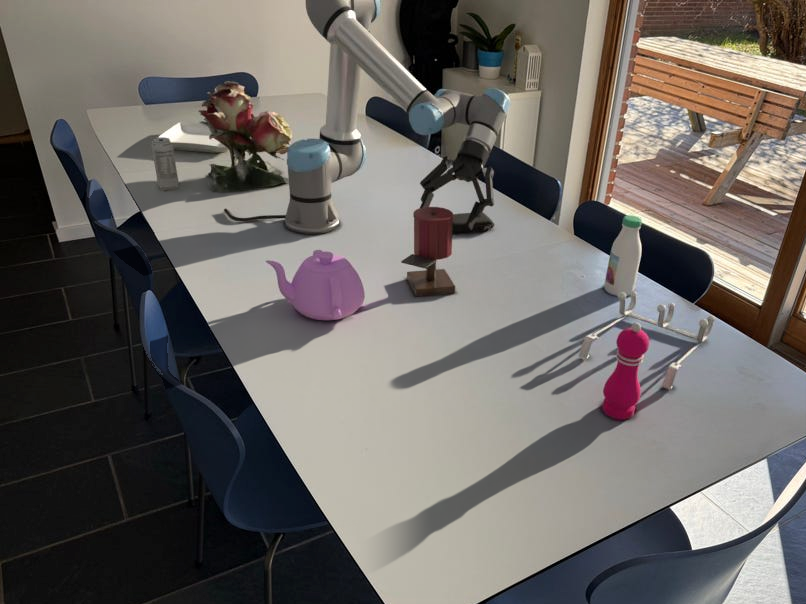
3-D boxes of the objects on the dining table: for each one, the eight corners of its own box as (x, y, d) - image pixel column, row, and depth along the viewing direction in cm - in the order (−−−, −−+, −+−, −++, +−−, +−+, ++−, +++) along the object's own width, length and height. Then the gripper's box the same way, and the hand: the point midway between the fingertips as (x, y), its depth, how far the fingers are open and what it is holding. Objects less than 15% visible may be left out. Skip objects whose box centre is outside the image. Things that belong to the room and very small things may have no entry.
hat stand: (415, 296, 178) (417, 225, 168) (406, 278, 186) (408, 209, 176) (454, 293, 181) (459, 223, 171) (444, 275, 188) (447, 208, 178)
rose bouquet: (303, 182, 239) (297, 88, 223) (215, 195, 224) (201, 95, 208) (275, 160, 256) (267, 71, 240) (190, 170, 242) (177, 76, 226)
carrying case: (451, 236, 210) (497, 232, 215) (452, 227, 209) (498, 222, 214) (439, 223, 218) (483, 219, 224) (439, 213, 217) (484, 209, 222)
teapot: (262, 293, 173) (257, 240, 166) (351, 282, 181) (350, 231, 174) (279, 339, 157) (274, 282, 149) (376, 325, 165) (376, 270, 157)
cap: (425, 242, 183) (425, 201, 178) (458, 249, 180) (459, 208, 174) (396, 261, 172) (395, 218, 166) (431, 270, 169) (431, 226, 163)
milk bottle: (635, 287, 191) (650, 216, 180) (630, 299, 185) (646, 226, 174) (606, 281, 193) (620, 210, 182) (601, 293, 187) (614, 220, 176)
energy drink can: (179, 183, 230) (171, 136, 222) (179, 190, 226) (171, 142, 217) (158, 184, 228) (150, 136, 220) (158, 191, 224) (149, 142, 216)
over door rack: (712, 338, 171) (722, 302, 166) (671, 394, 149) (681, 355, 144) (627, 310, 180) (635, 275, 174) (578, 359, 158) (584, 321, 153)
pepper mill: (596, 399, 146) (613, 313, 135) (630, 399, 147) (650, 314, 136) (604, 421, 140) (622, 332, 129) (640, 421, 141) (661, 333, 130)
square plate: (230, 157, 256) (229, 146, 253) (152, 151, 255) (151, 140, 253) (252, 136, 278) (251, 126, 276) (180, 130, 278) (179, 120, 275)
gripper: (524, 165, 182) (493, 239, 178) (438, 145, 191) (407, 216, 187) (517, 148, 175) (485, 226, 172) (429, 129, 184) (396, 202, 180)
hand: (444, 221), depth 179 cm, fingers open, 13 cm apart
